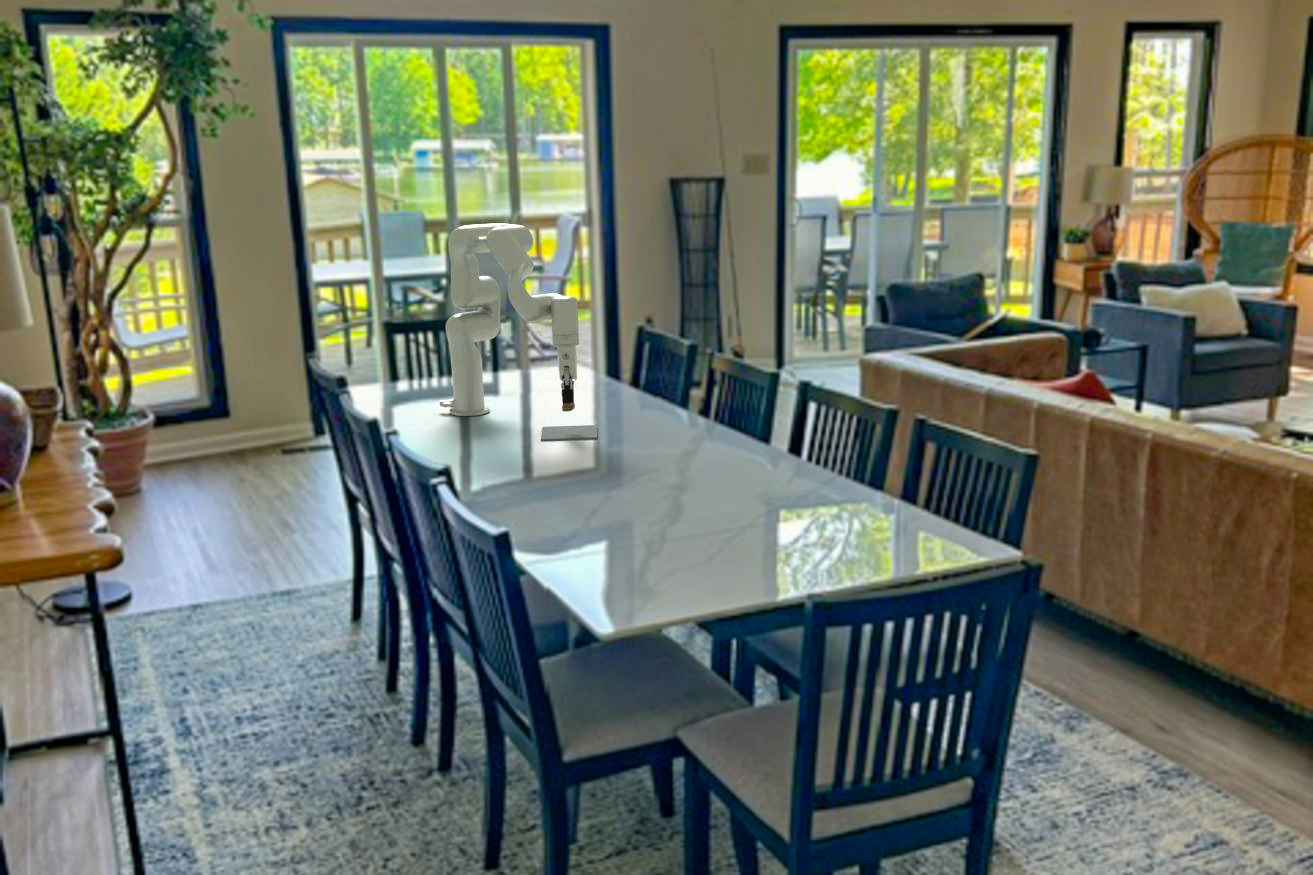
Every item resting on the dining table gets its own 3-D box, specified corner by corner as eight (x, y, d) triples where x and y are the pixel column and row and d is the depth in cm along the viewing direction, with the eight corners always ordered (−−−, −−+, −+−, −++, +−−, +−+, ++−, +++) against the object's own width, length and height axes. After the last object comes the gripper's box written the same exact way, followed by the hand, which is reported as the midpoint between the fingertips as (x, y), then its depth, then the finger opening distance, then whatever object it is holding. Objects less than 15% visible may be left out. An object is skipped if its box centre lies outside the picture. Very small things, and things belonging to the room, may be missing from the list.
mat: (540, 441, 321) (540, 439, 321) (542, 428, 335) (542, 426, 335) (597, 439, 322) (597, 437, 322) (596, 426, 336) (596, 425, 336)
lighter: (565, 405, 331) (563, 371, 328) (576, 405, 330) (575, 371, 328) (560, 411, 323) (558, 377, 321) (572, 411, 323) (570, 377, 320)
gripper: (578, 344, 314) (581, 405, 318) (579, 334, 331) (581, 393, 335) (551, 345, 313) (554, 406, 318) (553, 335, 330) (555, 394, 334)
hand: (568, 399), depth 326 cm, fingers closed on lighter, 8 cm apart
